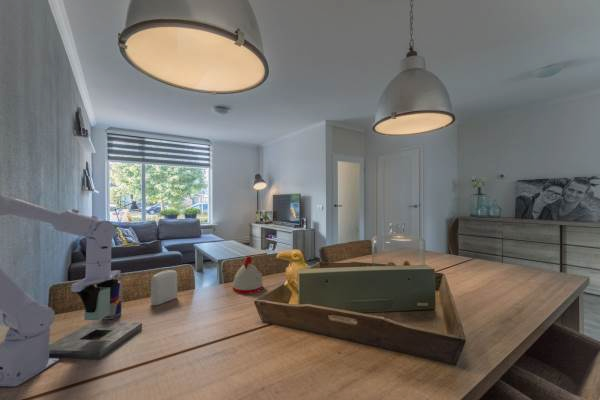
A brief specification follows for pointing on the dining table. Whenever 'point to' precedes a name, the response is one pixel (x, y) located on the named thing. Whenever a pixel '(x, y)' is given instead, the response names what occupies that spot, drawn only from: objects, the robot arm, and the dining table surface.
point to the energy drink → (115, 302)
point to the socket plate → (84, 348)
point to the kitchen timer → (247, 278)
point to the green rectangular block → (100, 305)
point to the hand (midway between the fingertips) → (97, 308)
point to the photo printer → (163, 287)
